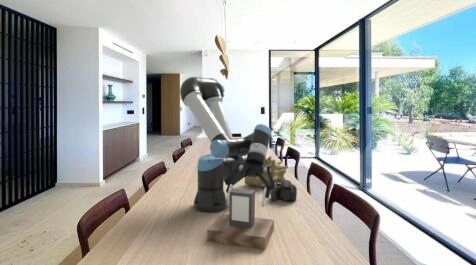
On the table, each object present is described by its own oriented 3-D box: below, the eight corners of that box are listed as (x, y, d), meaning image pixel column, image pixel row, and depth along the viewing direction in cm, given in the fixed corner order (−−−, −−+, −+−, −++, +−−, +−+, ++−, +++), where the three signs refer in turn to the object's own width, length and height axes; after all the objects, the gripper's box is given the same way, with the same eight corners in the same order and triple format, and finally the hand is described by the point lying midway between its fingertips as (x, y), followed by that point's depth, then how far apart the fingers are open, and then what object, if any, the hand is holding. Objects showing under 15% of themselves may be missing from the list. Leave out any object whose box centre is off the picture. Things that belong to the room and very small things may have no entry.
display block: (207, 240, 104) (207, 229, 103) (222, 223, 119) (222, 213, 118) (264, 249, 98) (265, 237, 97) (273, 230, 113) (274, 219, 113)
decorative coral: (232, 161, 185) (265, 136, 182) (253, 186, 192) (285, 162, 189) (237, 181, 161) (275, 153, 158) (261, 208, 168) (298, 182, 165)
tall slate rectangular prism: (228, 225, 107) (229, 192, 106) (233, 220, 111) (233, 188, 110) (251, 228, 104) (251, 194, 103) (254, 223, 109) (255, 190, 108)
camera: (274, 203, 144) (275, 183, 143) (268, 197, 153) (268, 178, 152) (301, 202, 146) (301, 182, 145) (293, 196, 156) (293, 177, 155)
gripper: (225, 149, 127) (211, 194, 114) (285, 153, 119) (277, 202, 106) (230, 159, 132) (216, 203, 120) (287, 164, 125) (279, 211, 112)
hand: (244, 203), depth 113 cm, fingers open, 13 cm apart
